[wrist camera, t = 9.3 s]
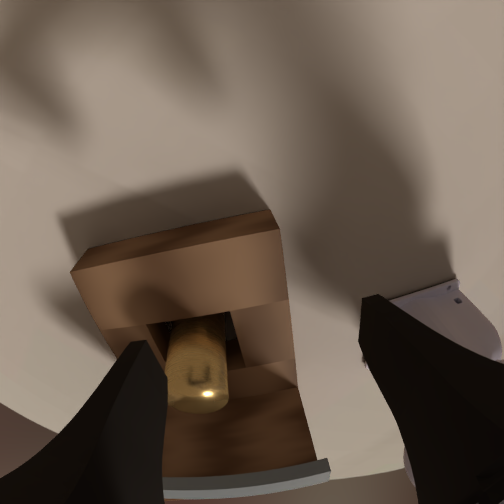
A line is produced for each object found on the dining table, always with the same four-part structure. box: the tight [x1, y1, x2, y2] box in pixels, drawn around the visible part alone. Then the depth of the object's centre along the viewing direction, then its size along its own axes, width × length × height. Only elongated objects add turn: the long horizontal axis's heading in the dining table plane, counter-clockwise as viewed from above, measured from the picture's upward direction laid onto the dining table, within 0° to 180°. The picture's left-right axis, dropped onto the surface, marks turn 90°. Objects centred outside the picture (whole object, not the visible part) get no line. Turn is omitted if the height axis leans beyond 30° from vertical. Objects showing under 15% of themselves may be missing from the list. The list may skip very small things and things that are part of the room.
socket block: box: [70, 210, 331, 499], centre depth 15 cm, size 13×15×11 cm
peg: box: [165, 312, 229, 414], centre depth 17 cm, size 4×4×7 cm
